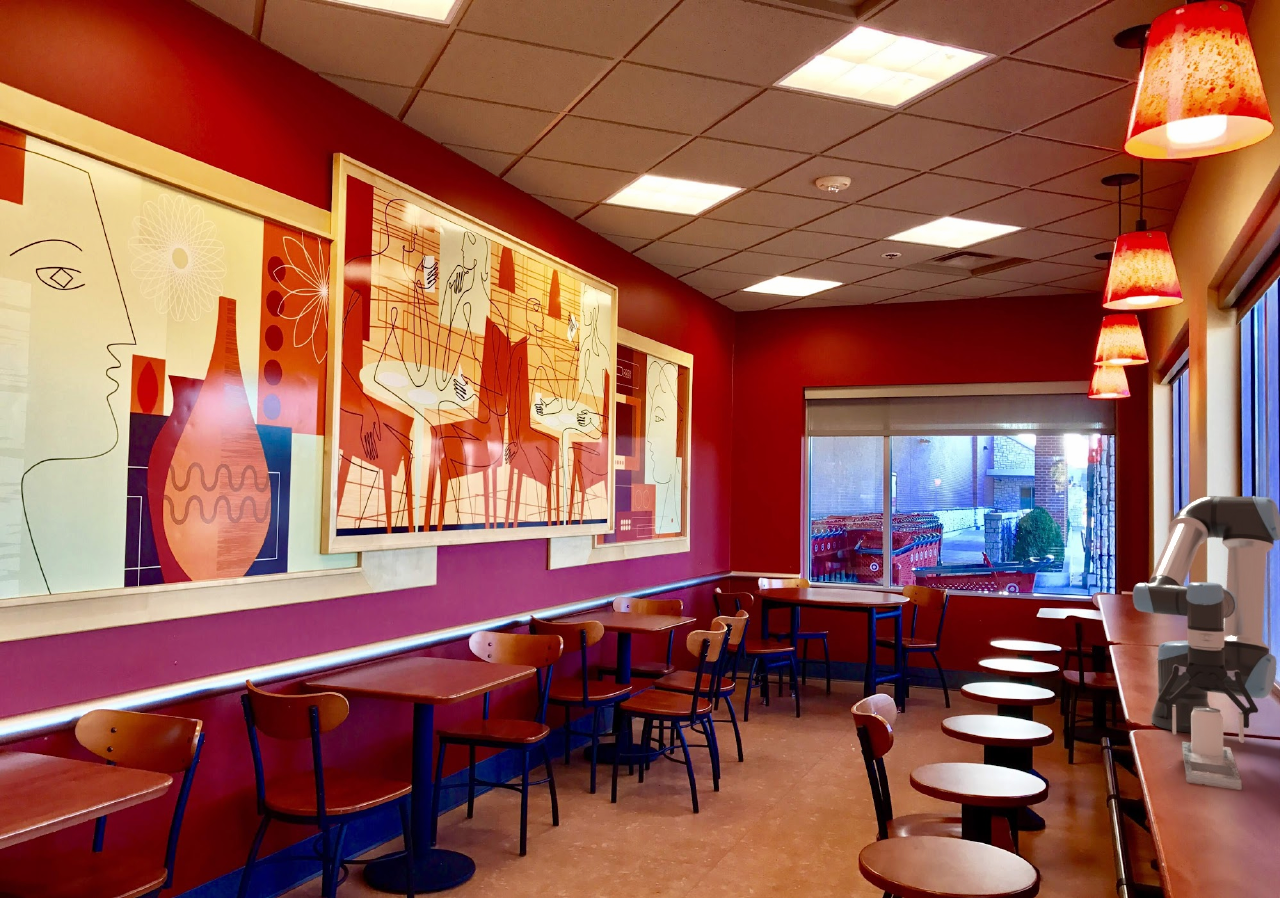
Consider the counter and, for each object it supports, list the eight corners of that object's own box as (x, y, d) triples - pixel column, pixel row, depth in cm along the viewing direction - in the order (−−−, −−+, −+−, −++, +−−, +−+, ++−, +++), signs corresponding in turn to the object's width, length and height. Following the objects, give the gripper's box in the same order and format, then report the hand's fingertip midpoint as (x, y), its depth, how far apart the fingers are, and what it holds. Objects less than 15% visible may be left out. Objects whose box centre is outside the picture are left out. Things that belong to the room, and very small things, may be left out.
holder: (1182, 749, 225) (1182, 741, 225) (1230, 755, 220) (1230, 747, 220) (1186, 782, 198) (1186, 773, 199) (1241, 790, 194) (1241, 780, 194)
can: (1219, 757, 218) (1218, 707, 219) (1227, 765, 212) (1226, 713, 213) (1188, 754, 220) (1187, 704, 221) (1195, 762, 214) (1194, 710, 215)
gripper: (1146, 644, 220) (1147, 733, 219) (1270, 655, 208) (1272, 748, 207) (1146, 640, 227) (1147, 726, 226) (1266, 650, 215) (1268, 741, 214)
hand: (1207, 737), depth 216 cm, fingers open, 13 cm apart
